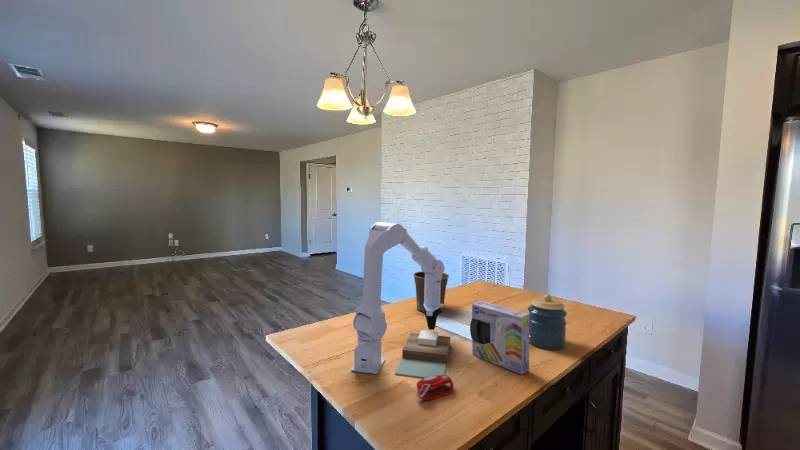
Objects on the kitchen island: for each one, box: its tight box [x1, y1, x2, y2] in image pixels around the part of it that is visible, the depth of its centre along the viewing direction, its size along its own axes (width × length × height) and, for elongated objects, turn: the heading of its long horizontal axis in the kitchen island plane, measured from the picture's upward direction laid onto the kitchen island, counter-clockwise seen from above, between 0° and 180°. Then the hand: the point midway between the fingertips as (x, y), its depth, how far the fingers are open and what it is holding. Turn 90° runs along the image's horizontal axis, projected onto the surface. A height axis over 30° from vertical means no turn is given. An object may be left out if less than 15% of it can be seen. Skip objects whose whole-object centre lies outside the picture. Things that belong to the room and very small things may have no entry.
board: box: [401, 332, 451, 365], centre depth 116 cm, size 14×14×3 cm
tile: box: [418, 329, 439, 346], centre depth 117 cm, size 7×6×2 cm
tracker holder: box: [415, 374, 454, 401], centre depth 92 cm, size 12×4×10 cm
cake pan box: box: [469, 300, 530, 375], centre depth 109 cm, size 19×5×18 cm, turn 40°
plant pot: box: [412, 270, 450, 313], centre depth 159 cm, size 16×16×16 cm
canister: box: [527, 293, 568, 351], centre depth 124 cm, size 13×13×18 cm
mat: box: [394, 358, 447, 379], centre depth 104 cm, size 10×14×1 cm
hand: (431, 328), depth 125 cm, fingers closed
